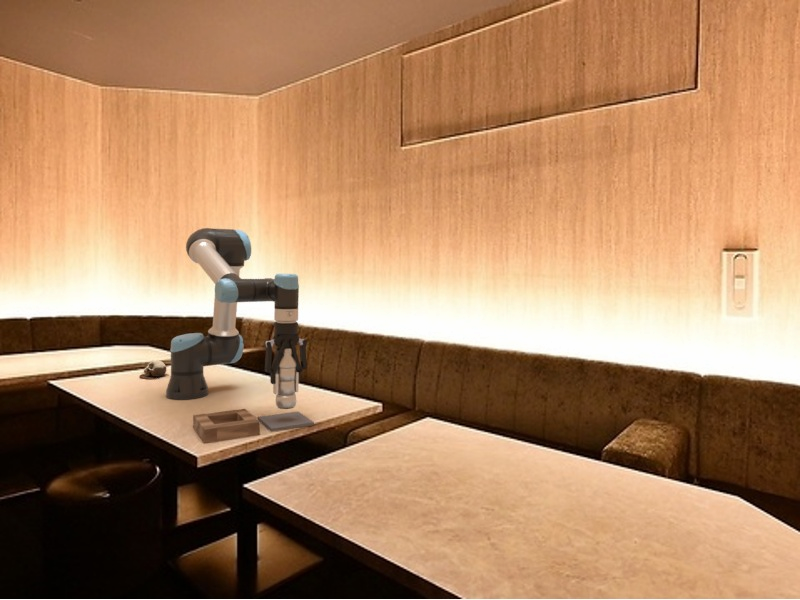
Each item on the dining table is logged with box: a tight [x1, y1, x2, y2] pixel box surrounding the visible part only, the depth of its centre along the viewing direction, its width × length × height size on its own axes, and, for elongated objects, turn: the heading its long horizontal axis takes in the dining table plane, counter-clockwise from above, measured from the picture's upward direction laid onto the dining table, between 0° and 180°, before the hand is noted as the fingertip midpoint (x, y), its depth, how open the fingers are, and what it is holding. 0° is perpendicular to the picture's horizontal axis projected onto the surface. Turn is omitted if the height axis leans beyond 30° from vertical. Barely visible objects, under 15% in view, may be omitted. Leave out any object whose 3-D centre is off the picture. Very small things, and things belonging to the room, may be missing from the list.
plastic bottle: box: [275, 348, 298, 410], centre depth 172 cm, size 6×7×20 cm
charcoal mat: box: [257, 411, 315, 432], centre depth 173 cm, size 14×14×1 cm
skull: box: [139, 359, 170, 380], centre depth 236 cm, size 12×10×10 cm
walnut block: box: [192, 408, 261, 444], centre depth 163 cm, size 16×16×4 cm
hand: (285, 392), depth 172 cm, fingers closed on plastic bottle, 6 cm apart
